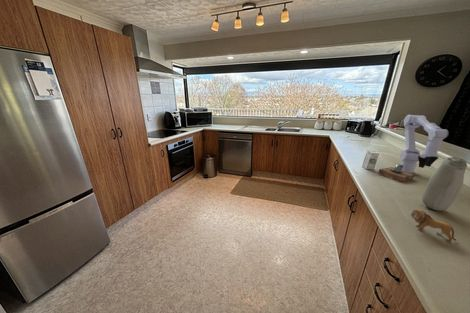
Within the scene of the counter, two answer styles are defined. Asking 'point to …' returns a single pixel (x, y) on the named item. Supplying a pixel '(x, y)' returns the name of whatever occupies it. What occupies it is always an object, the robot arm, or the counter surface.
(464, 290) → the counter surface
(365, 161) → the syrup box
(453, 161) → the white vase
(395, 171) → the grey cylinder
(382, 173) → the bead block
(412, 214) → the lion figurine
